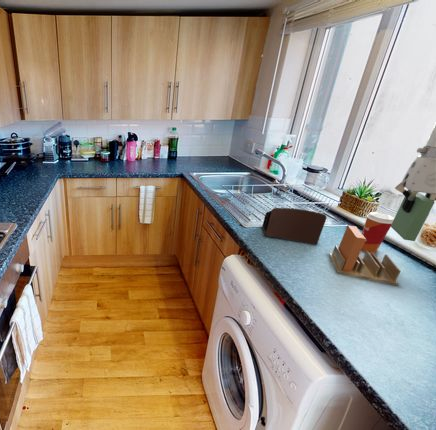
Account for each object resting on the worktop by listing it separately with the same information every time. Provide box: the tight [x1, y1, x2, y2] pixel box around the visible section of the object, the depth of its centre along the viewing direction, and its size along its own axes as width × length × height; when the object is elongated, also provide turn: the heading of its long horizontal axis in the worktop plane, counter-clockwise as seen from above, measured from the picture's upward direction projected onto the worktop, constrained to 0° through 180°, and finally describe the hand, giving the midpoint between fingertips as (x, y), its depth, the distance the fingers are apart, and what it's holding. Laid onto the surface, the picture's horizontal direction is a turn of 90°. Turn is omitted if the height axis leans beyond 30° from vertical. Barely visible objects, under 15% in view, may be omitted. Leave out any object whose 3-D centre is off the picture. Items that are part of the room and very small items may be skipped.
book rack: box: [328, 245, 402, 287], centre depth 101 cm, size 17×13×5 cm
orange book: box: [338, 224, 366, 271], centre depth 101 cm, size 3×10×13 cm, turn 157°
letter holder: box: [261, 207, 327, 246], centre depth 122 cm, size 10×20×14 cm, turn 71°
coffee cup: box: [361, 211, 395, 254], centre depth 112 cm, size 8×8×15 cm
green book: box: [390, 192, 436, 242], centre depth 90 cm, size 3×10×13 cm, turn 157°
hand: (412, 211), depth 89 cm, fingers closed on green book, 2 cm apart
